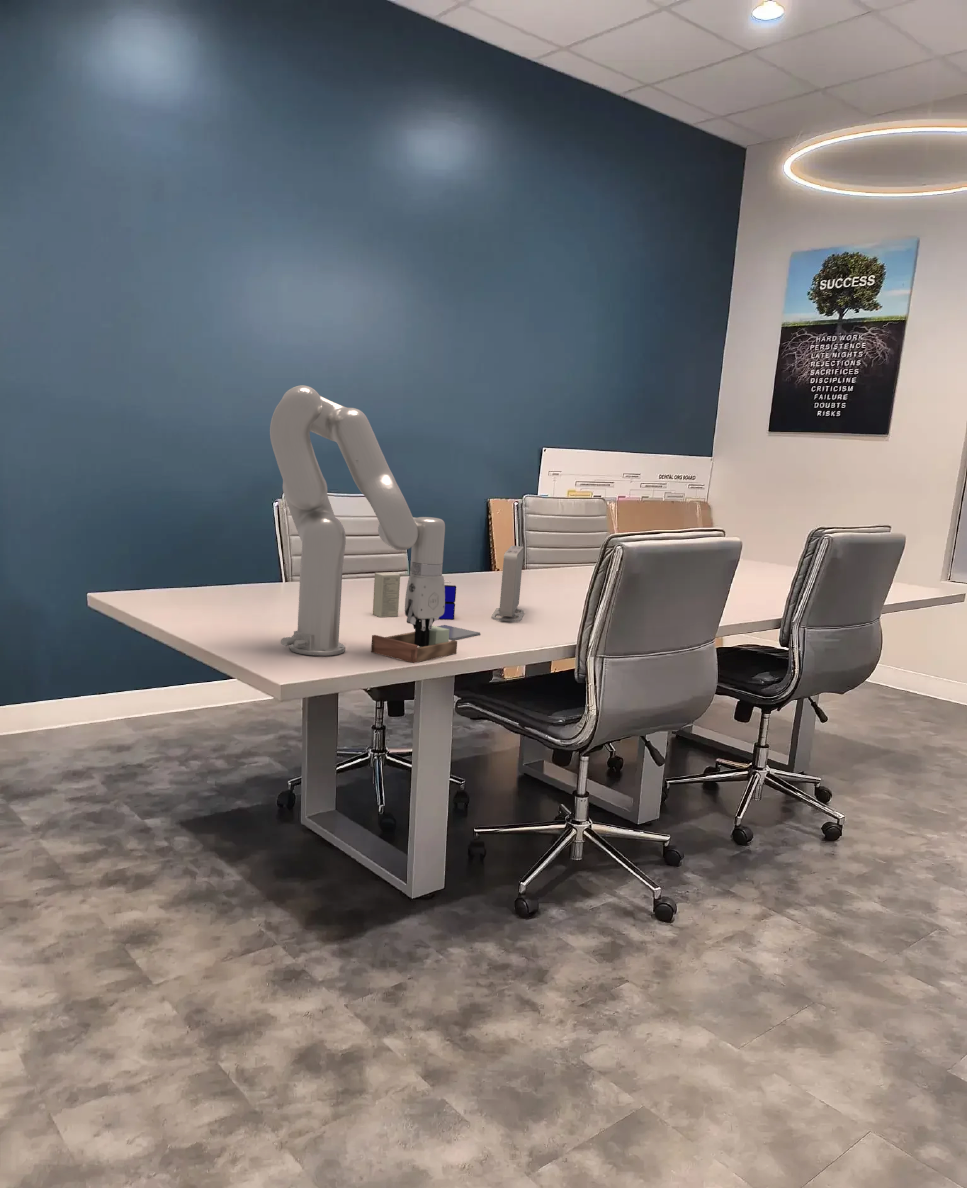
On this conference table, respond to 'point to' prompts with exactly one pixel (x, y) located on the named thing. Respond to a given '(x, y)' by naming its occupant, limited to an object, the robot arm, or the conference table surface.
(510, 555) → the network device
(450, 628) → the slate pad
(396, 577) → the skincare box
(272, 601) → the conference table surface
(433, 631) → the block
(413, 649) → the wooden tray
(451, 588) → the puzzle cube
